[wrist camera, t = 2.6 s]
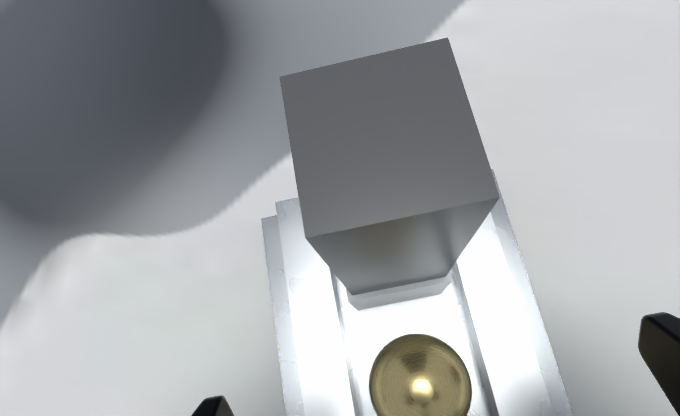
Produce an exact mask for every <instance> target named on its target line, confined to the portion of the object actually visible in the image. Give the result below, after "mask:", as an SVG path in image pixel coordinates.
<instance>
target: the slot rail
mask: <svg viewBox="0 0 680 416" xmlns="http://www.w3.org/2000/svg"><path fill="white" fill-rule="evenodd" d="M491 171H492V174H493V177H494V180H495V183H496V186H497V190H498V193H499V196H500V198H499V200H498V201H497V203H496V204H495V206H494V207H493V208H492V210H491V211H490V213H489V214H488V216H487V217H486V219H485V220H484V222H483V223H482V224H481V226H480V227H479V229H478V230H477V232H476V233H475V235H474V236H473V238H472V239H471V241H470V242H469V243H468V245H467V246H466V248H465V249H464V251H463V252H462V254H461V255H460V257H459V258H458V260H457V261H456V262H455V264H454V265H453V267H452V268H451V270H450V275H451V278H452V282H451V283H450V284H449V286H448V287H447V288H446V289H445V291H444V292H443V293H442V294H439V295H434V296H429V297H424V298H419V299H414V300H409V301H404V302H399V303H394V304H389V305H384V306H379V307H374V308H369V309H364V310H358V311H357V310H356V309H355V308H354V307H353V306H352V305H351V304H350V303H349V302H348V298H347V293H346V287H345V286H344V285H343V284H342V282H341V281H340V280H339V279H338V278H337V276H336V275H335V274H334V273H333V272H332V270H331V269H330V268H329V267H328V265H327V264H326V263H325V262H324V261H323V259H322V258H321V257H320V256H319V254H318V253H317V252H316V251H315V250H314V248H313V247H312V246H311V245H310V243H309V242H308V241H307V240H306V239H305V234H304V227H303V221H302V215H301V209H300V202H299V197H298V198H293V199H289V200H284V201H279V202H275V203H276V210H277V215H276V216H271V217H267V218H262V219H261V220H262V228H263V236H264V244H265V252H266V260H267V268H268V276H269V284H270V292H271V300H272V308H273V316H274V324H275V332H276V340H277V348H278V356H279V364H280V372H281V380H282V388H283V396H284V404H285V412H286V416H377V414H376V412H375V410H374V408H373V405H372V403H371V399H370V394H369V375H370V371H371V367H372V364H373V362H374V360H375V358H376V356H377V354H378V353H379V352H380V350H381V349H382V348H383V347H384V346H385V345H386V344H388V343H389V342H390V341H392V340H393V339H395V338H397V337H400V336H402V335H406V334H413V333H421V334H427V335H431V336H434V337H436V338H439V339H441V340H442V341H444V342H446V343H447V344H448V345H450V346H451V347H452V348H453V349H454V350H455V351H456V352H457V353H458V354H459V355H460V357H461V358H462V360H463V361H464V363H465V365H466V367H467V369H468V372H469V375H470V379H471V384H472V400H471V406H470V409H469V412H468V414H467V416H574V415H573V412H572V409H571V406H570V403H569V400H568V397H567V394H566V391H565V388H564V385H563V382H562V379H561V375H560V372H559V369H558V366H557V363H556V360H555V357H554V354H553V351H552V348H551V345H550V342H549V339H548V336H547V333H546V330H545V327H544V324H543V321H542V318H541V315H540V312H539V308H538V305H537V302H536V299H535V296H534V293H533V290H532V287H531V284H530V281H529V278H528V275H527V272H526V269H525V266H524V263H523V260H522V257H521V254H520V251H519V248H518V245H517V241H516V238H515V235H514V232H513V229H512V226H511V223H510V220H509V217H508V214H507V211H506V208H505V205H504V202H503V199H502V196H501V193H500V190H499V187H498V184H497V181H496V178H495V174H494V171H493V169H491Z"/></svg>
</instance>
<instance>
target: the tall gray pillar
mask: <svg viewBox="0 0 680 416" xmlns="http://www.w3.org/2000/svg"><path fill="white" fill-rule="evenodd" d="M280 82H281V88H282V95H283V101H284V107H285V114H286V120H287V126H288V133H289V139H290V145H291V152H292V158H293V164H294V171H295V177H296V183H297V190H298V196H299V202H300V209H301V215H302V221H303V227H304V234H305V239H306V240H307V241H308V242H309V243H310V245H311V246H312V247H313V248H314V250H315V251H316V252H317V253H318V254H319V256H320V257H321V258H322V259H323V261H324V262H325V263H326V264H327V265H328V267H329V268H330V269H331V270H332V272H333V273H334V274H335V275H336V276H337V278H338V279H339V280H340V281H341V282H342V284H343V285H344V286H345V287H346V293H347V298H348V302H349V303H350V304H351V305H352V306H353V307H354V308H355V309H356V310H357V311H358V310H364V309H369V308H374V307H379V306H384V305H389V304H394V303H399V302H404V301H409V300H414V299H419V298H424V297H429V296H434V295H439V294H442V293H443V292H444V291H445V289H446V288H447V287H448V286H449V284H450V283H451V282H452V278H451V275H450V270H451V268H452V267H453V265H454V264H455V262H456V261H457V260H458V258H459V257H460V255H461V254H462V252H463V251H464V249H465V248H466V246H467V245H468V243H469V242H470V241H471V239H472V238H473V236H474V235H475V233H476V232H477V230H478V229H479V227H480V226H481V224H482V223H483V222H484V220H485V219H486V217H487V216H488V214H489V213H490V211H491V210H492V208H493V207H494V206H495V204H496V203H497V201H498V200H499V198H500V196H499V193H498V190H497V186H496V183H495V180H494V177H493V174H492V171H491V168H490V165H489V162H488V159H487V156H486V153H485V150H484V147H483V144H482V141H481V137H480V134H479V131H478V128H477V125H476V122H475V119H474V116H473V113H472V110H471V107H470V104H469V101H468V98H467V95H466V92H465V89H464V85H463V82H462V79H461V76H460V73H459V70H458V67H457V64H456V61H455V58H454V55H453V52H452V49H451V46H450V43H449V40H448V38H444V39H440V40H435V41H431V42H427V43H423V44H418V45H414V46H410V47H405V48H401V49H397V50H393V51H388V52H384V53H380V54H376V55H371V56H367V57H363V58H359V59H354V60H350V61H346V62H341V63H337V64H333V65H329V66H324V67H320V68H316V69H311V70H307V71H303V72H298V73H294V74H290V75H286V76H281V77H280Z"/></svg>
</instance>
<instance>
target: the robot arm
mask: <svg viewBox="0 0 680 416" xmlns="http://www.w3.org/2000/svg"><path fill="white" fill-rule="evenodd" d="M638 348H639V352H640V354H641V356H642V358H643V359H644V361H645V363H646V364H647V366H648V367H649V369H650V371H651V372H652V374H653V375H654V377H655V379H656V380H657V382H658V383H659V385H660V387H661V388H662V390H663V391H664V393H665V395H666V396H667V398H668V399H669V401H670V403H671V404H672V406H673V407H674V409H675V411H676V412H677V414H678V415H679V416H680V318H677V317H675V316H673V315H671V314H668V313H664V312H660V313H655V314H650V315H645V316H644V317H643V318H642V319H641V324H640V332H639V339H638ZM191 416H234V414H233V412H232V410H231V408H230V406H229V404H228V402H227V400H226V398H225V397H224V396H215V397H210V398H206V399H205V400H203V401H202V402H201V404H200V405H199V406H198V408H197V409H196V410H195V412H194V413H193V414H192V415H191Z"/></svg>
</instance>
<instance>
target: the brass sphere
mask: <svg viewBox="0 0 680 416" xmlns="http://www.w3.org/2000/svg"><path fill="white" fill-rule="evenodd" d="M369 394H370V399H371V403H372V405H373V408H374V410H375V412H376V414H377V416H467V414H468V412H469V409H470V406H471V400H472V384H471V379H470V375H469V372H468V369H467V367H466V365H465V363H464V361H463V360H462V358H461V357H460V355H459V354H458V353H457V352H456V351H455V350H454V349H453V348H452V347H451V346H450V345H448V344H447V343H446V342H444V341H442V340H441V339H439V338H436V337H434V336H431V335H427V334H421V333H413V334H406V335H402V336H400V337H397V338H395V339H393V340H392V341H390V342H389V343H388V344H386V345H385V346H384V347H383V348H382V349H381V350H380V352H379V353H378V354H377V356H376V358H375V360H374V362H373V364H372V367H371V371H370V375H369Z"/></svg>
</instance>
